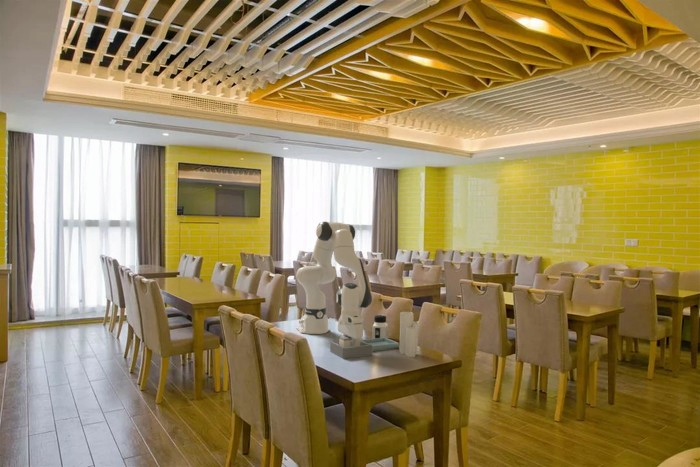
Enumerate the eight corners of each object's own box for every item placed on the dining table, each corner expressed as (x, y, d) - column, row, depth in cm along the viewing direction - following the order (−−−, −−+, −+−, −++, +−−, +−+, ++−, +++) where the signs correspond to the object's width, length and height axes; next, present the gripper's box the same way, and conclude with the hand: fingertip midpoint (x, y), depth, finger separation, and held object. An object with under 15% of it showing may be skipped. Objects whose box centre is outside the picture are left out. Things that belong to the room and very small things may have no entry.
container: (385, 340, 271) (386, 317, 271) (372, 339, 273) (372, 316, 272) (387, 337, 279) (388, 314, 278) (374, 336, 280) (374, 313, 280)
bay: (330, 351, 246) (330, 341, 245) (357, 348, 253) (357, 338, 253) (343, 359, 233) (343, 348, 232) (371, 355, 240) (371, 345, 240)
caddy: (339, 352, 244) (339, 336, 244) (354, 350, 248) (355, 334, 248) (343, 355, 240) (343, 338, 239) (359, 353, 244) (360, 337, 244)
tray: (355, 345, 259) (355, 340, 259) (384, 341, 268) (384, 337, 268) (368, 351, 247) (369, 346, 247) (398, 347, 255) (399, 343, 255)
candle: (396, 351, 247) (397, 312, 247) (408, 350, 250) (409, 311, 250) (409, 357, 237) (410, 316, 237) (421, 356, 240) (422, 315, 240)
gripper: (335, 313, 251) (334, 340, 251) (354, 320, 233) (353, 349, 233) (345, 312, 254) (345, 339, 254) (365, 319, 236) (365, 348, 236)
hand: (349, 344), depth 244 cm, fingers closed on caddy, 5 cm apart
